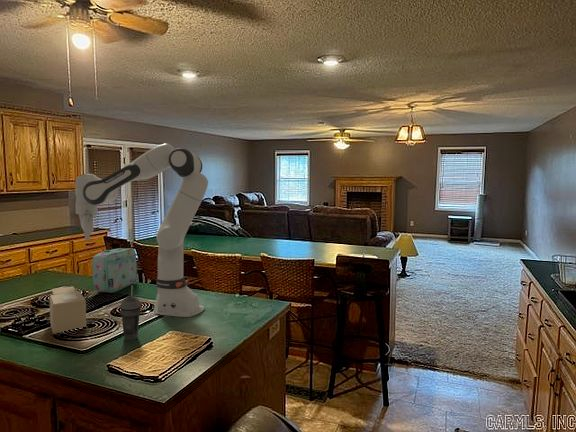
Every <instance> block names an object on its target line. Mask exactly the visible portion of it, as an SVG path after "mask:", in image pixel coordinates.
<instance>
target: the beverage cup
mask: <svg viewBox="0 0 576 432" xmlns="http://www.w3.org/2000/svg"><path fill="white" fill-rule="evenodd" d="M130 286H131V287H130V289H131V290H130V295H128V296H126V297H124V298H123V299H122V301H121V303H120V307H119V310H120V314H121V322H122V323H121V324H122V330H123V338H124V340H125V341H134V340H136V339H138V333H139V324H140V313H141V308H142V304H141V301H140V299H139V298H138V297H136V296H134V295H133V291H134V285H133V284H131V285H130Z"/></svg>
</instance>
